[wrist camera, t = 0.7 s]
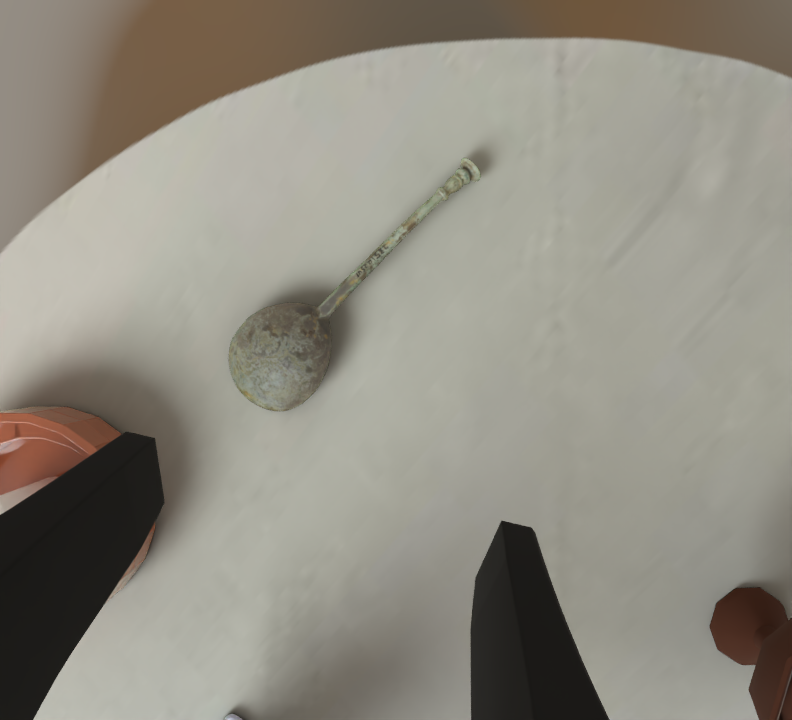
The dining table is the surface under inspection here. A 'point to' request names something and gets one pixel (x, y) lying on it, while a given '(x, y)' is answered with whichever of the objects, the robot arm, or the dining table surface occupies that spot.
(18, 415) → the clay bowl
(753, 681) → the brown rounded tall piece
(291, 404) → the soupspoon
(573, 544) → the dining table surface
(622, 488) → the dining table surface
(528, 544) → the robot arm
